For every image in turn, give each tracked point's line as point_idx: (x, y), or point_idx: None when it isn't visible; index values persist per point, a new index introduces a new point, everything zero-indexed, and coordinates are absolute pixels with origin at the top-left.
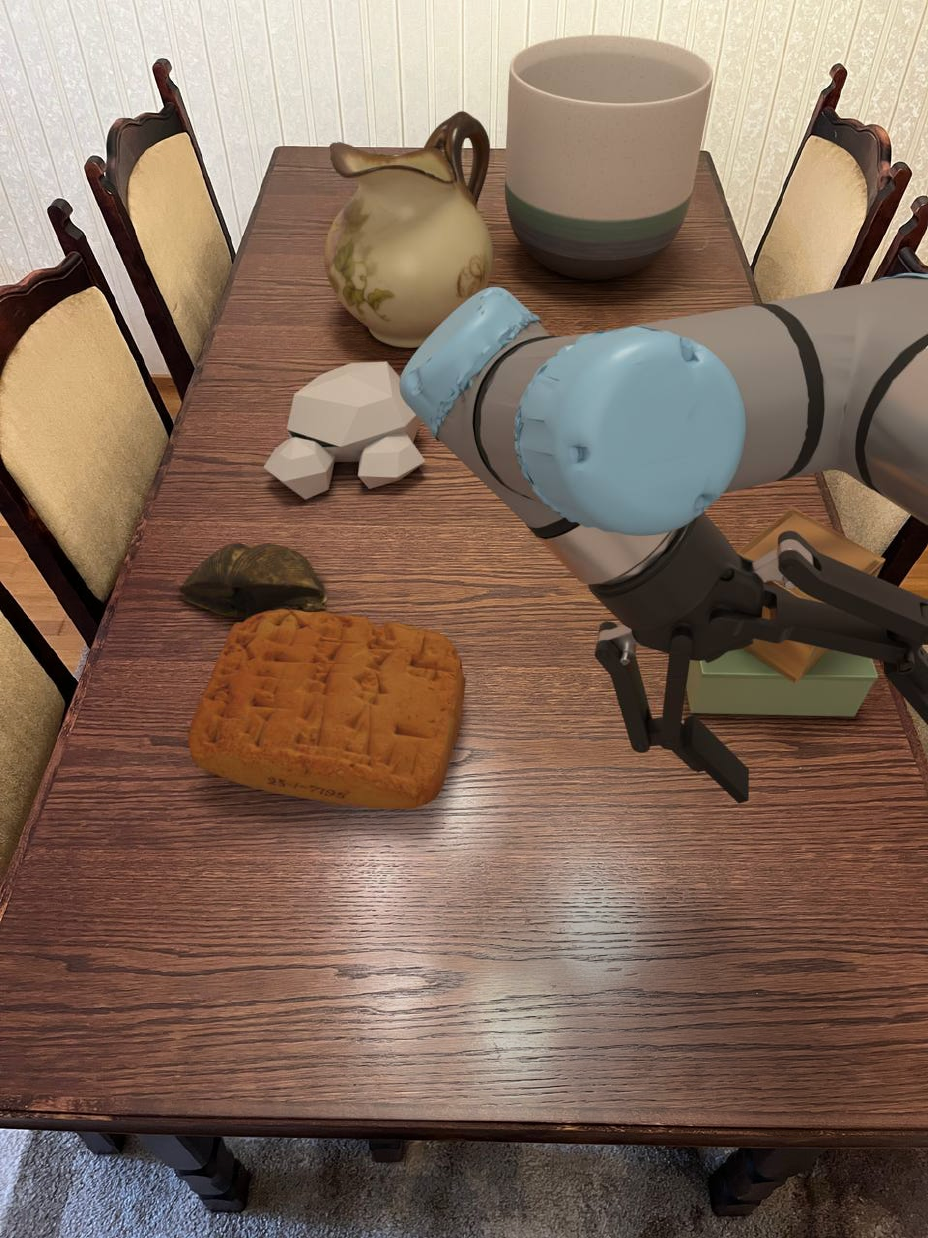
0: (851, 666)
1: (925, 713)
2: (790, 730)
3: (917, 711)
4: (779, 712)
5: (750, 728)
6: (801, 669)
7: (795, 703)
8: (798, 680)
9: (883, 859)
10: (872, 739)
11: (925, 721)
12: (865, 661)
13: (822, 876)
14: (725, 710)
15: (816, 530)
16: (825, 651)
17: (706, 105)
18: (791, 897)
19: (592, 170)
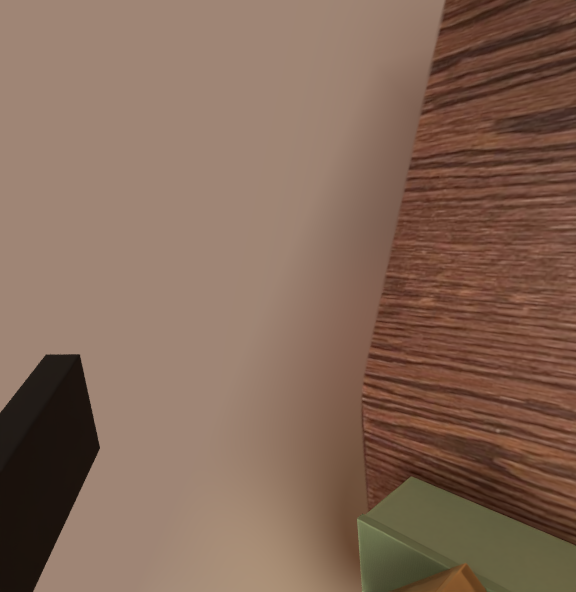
0: (384, 548)
1: (6, 434)
2: (497, 488)
3: (11, 448)
4: (506, 520)
5: (559, 514)
6: (447, 586)
7: (478, 525)
8: (459, 566)
9: (422, 283)
10: (398, 440)
11: (38, 411)
12: (366, 546)
13: (507, 264)
14: None
15: None
16: (409, 589)
17: None
18: (565, 231)
19: None
